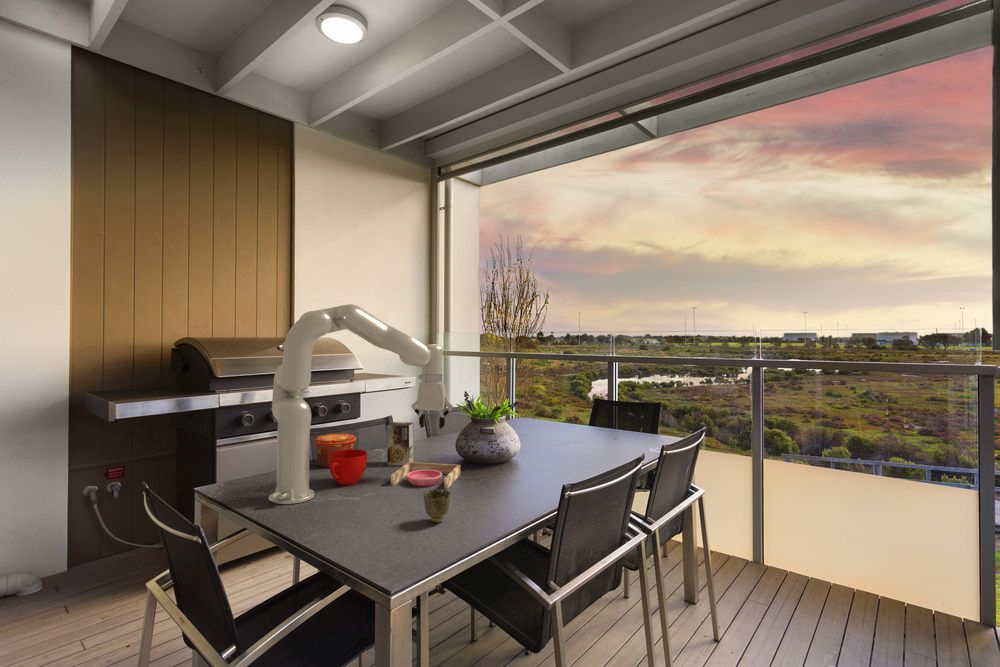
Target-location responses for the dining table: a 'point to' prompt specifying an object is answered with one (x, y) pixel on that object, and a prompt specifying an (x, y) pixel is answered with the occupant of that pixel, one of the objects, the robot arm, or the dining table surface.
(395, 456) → the coffee box
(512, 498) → the dining table surface
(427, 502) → the cup
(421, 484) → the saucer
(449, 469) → the oak cubby
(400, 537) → the dining table surface
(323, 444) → the food container
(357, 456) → the ceramic cup
